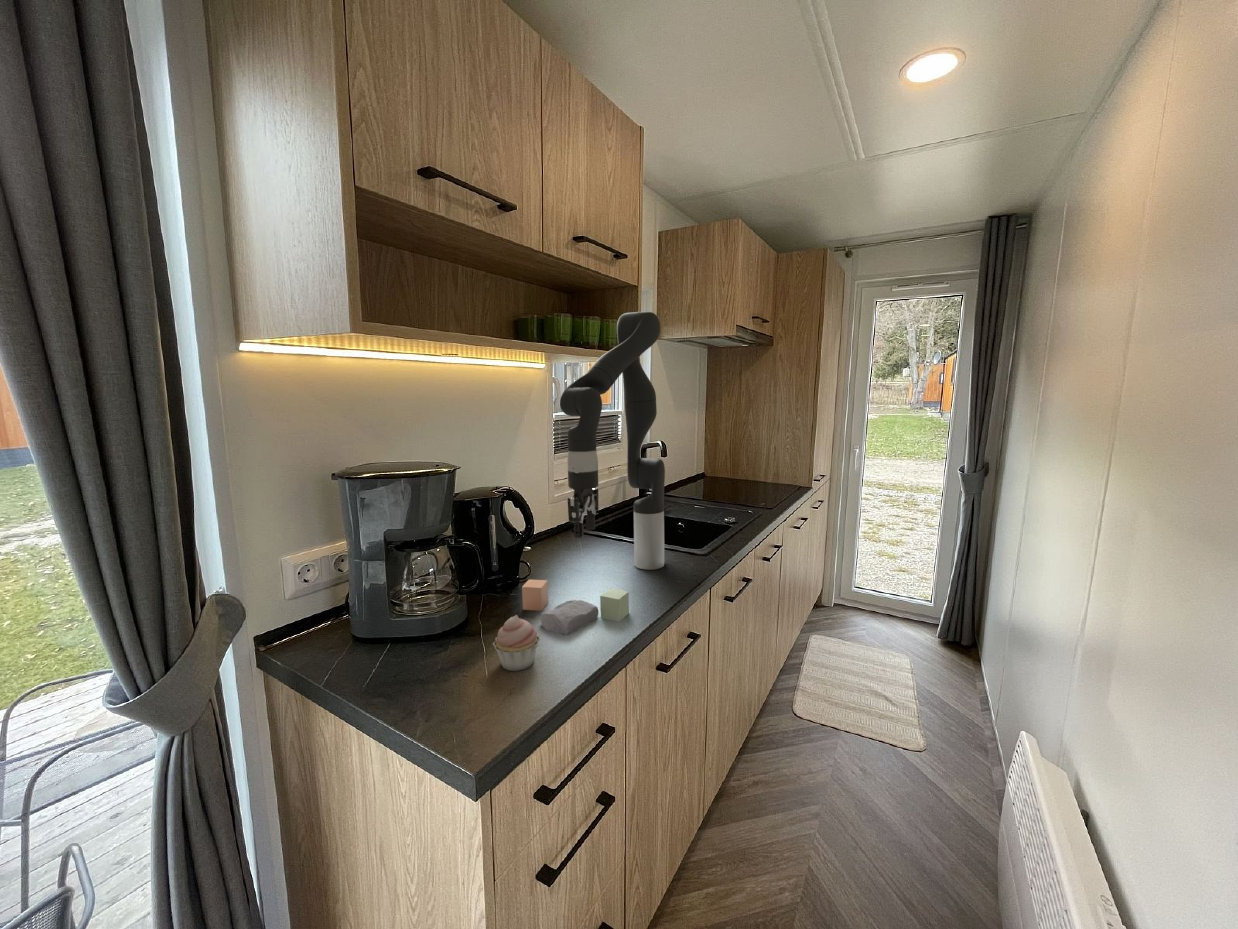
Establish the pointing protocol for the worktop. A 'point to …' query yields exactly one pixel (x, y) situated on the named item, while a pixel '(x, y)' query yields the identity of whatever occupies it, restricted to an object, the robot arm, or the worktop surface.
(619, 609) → the sage block
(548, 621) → the stone block
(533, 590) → the terracotta block
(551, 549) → the worktop surface
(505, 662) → the cupcake
